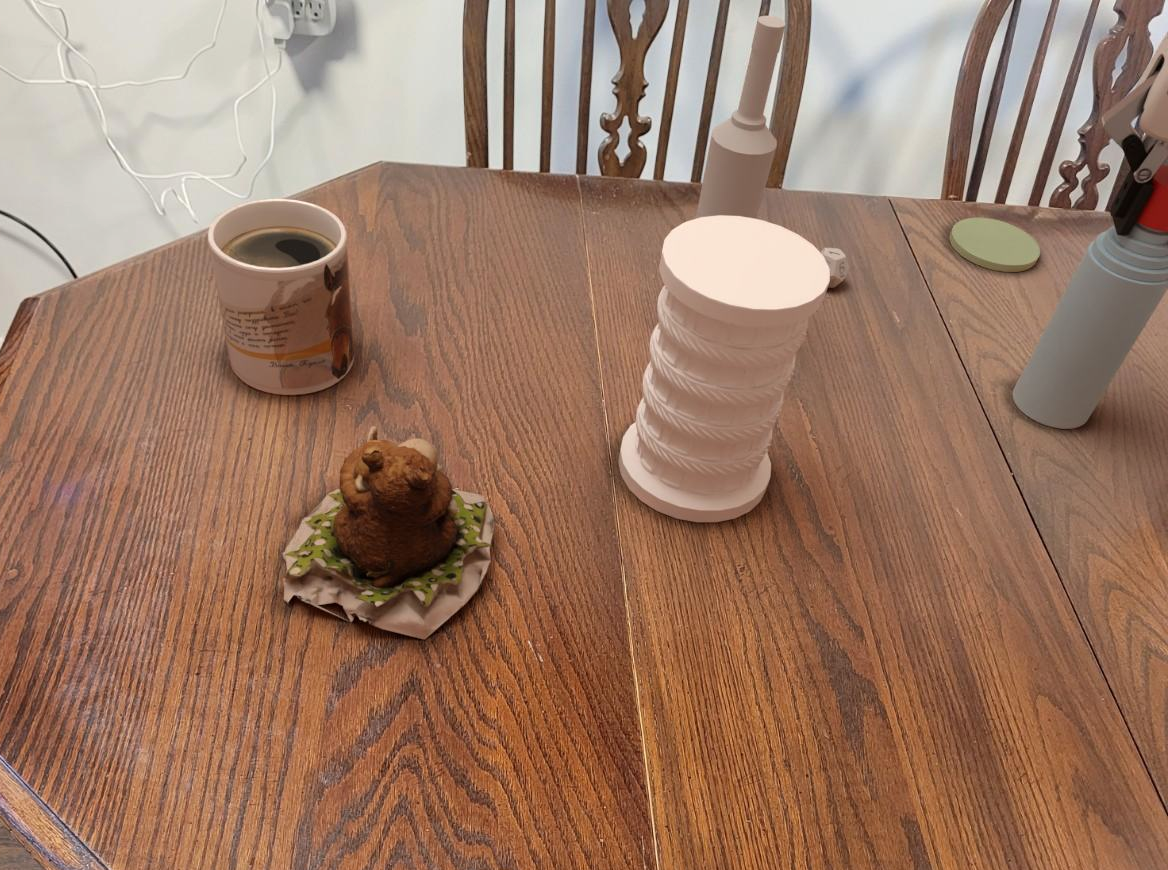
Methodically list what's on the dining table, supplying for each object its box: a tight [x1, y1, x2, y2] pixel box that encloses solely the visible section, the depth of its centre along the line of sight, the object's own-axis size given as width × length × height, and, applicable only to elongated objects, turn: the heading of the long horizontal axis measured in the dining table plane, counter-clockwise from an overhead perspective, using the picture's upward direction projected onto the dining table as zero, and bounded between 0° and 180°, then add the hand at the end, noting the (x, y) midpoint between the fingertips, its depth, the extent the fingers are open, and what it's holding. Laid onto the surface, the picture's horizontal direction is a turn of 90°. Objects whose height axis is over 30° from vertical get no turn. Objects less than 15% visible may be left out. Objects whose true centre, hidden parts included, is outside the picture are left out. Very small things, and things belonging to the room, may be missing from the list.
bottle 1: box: [695, 15, 786, 219], centre depth 84 cm, size 5×5×25 cm
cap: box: [1137, 165, 1168, 232], centre depth 76 cm, size 4×4×3 cm
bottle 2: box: [1012, 221, 1168, 430], centre depth 83 cm, size 7×7×20 cm
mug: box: [207, 198, 355, 396], centre depth 81 cm, size 10×12×11 cm
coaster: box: [948, 217, 1041, 273], centre depth 107 cm, size 9×9×1 cm
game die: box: [819, 247, 851, 289], centre depth 98 cm, size 4×4×3 cm
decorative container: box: [617, 215, 830, 523], centre depth 73 cm, size 12×12×18 cm
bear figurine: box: [282, 425, 496, 640], centre depth 67 cm, size 14×15×12 cm
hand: (1148, 230), depth 78 cm, fingers closed on cap, 3 cm apart
